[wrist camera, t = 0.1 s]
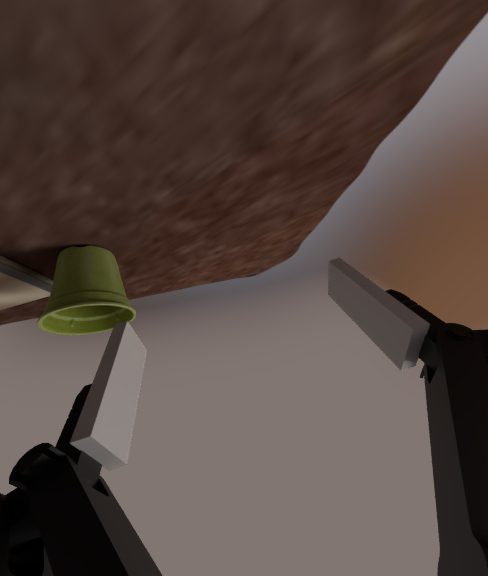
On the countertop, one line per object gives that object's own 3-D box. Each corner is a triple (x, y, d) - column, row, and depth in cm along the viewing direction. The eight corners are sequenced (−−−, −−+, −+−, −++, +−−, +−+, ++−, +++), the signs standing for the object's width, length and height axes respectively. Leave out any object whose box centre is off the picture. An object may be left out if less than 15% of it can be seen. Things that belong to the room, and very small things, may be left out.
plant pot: (23, 264, 27) (19, 335, 24) (65, 223, 24) (66, 299, 21) (102, 280, 35) (107, 335, 32) (143, 251, 32) (152, 309, 29)
